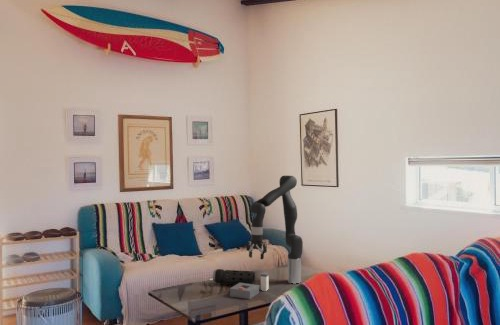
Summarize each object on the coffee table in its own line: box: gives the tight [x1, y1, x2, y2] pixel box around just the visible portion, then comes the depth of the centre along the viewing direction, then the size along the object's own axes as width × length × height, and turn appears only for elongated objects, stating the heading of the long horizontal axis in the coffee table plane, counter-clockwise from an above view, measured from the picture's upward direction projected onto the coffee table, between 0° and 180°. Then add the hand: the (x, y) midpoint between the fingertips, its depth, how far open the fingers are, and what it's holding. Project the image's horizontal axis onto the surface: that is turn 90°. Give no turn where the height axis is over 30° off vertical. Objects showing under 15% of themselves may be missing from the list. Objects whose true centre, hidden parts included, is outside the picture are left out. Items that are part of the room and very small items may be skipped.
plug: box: [260, 272, 270, 292], centre depth 288 cm, size 4×4×11 cm
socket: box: [229, 283, 260, 300], centre depth 278 cm, size 14×14×6 cm
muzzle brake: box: [212, 268, 256, 286], centre depth 300 cm, size 10×28×10 cm, turn 78°
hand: (256, 258), depth 285 cm, fingers open, 8 cm apart
